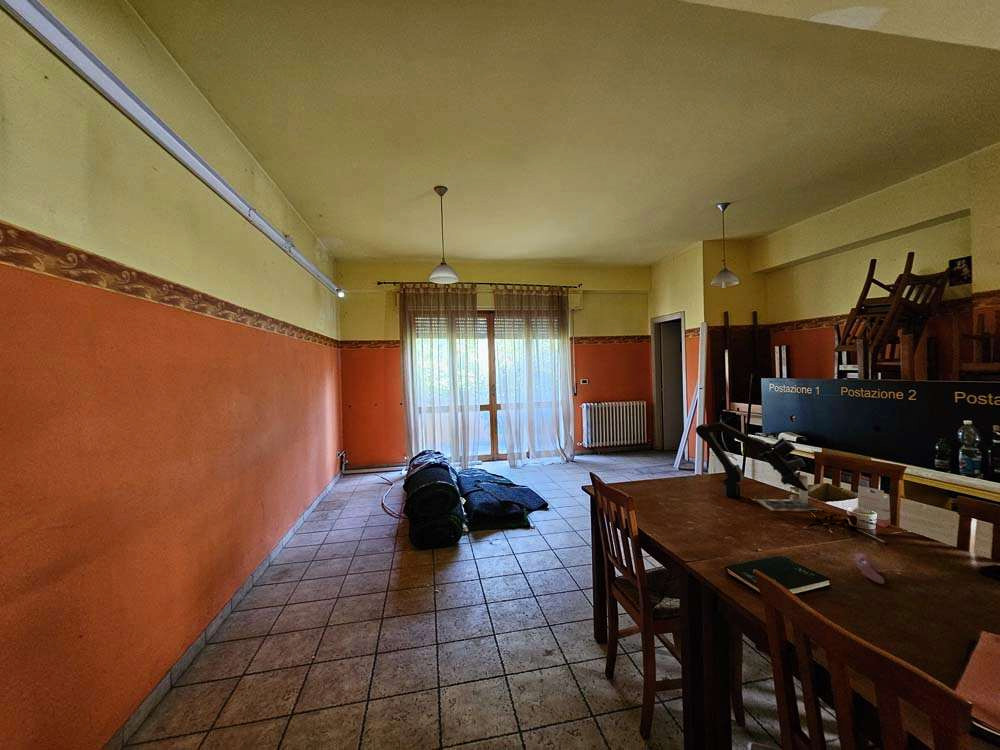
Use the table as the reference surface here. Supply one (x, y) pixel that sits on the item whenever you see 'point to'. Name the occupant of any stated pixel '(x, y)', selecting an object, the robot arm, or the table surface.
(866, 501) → the ink cartridge box
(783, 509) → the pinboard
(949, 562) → the table surface
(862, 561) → the pink rounded piece
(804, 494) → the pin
